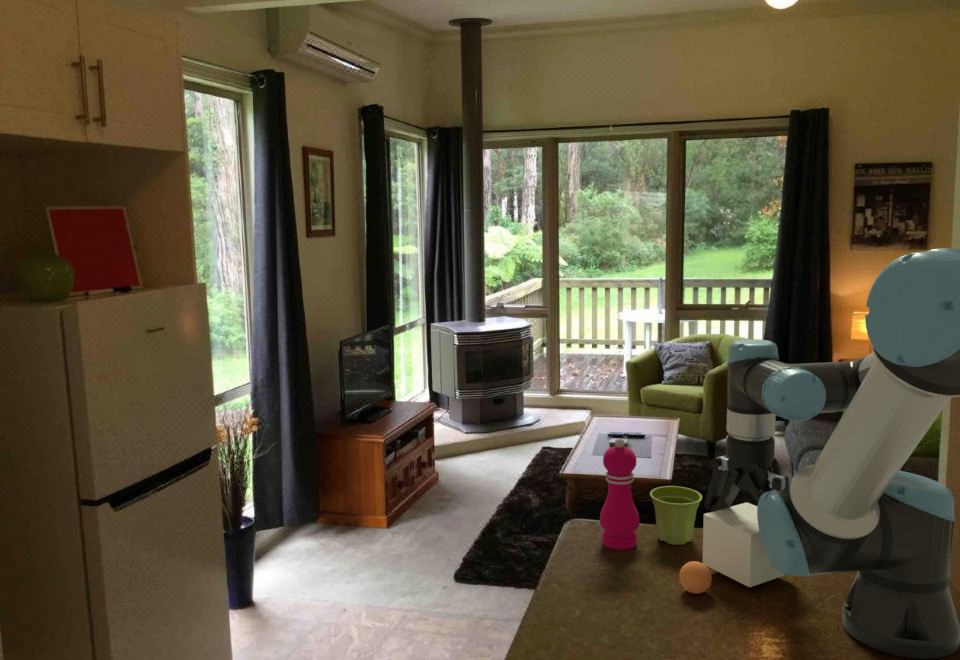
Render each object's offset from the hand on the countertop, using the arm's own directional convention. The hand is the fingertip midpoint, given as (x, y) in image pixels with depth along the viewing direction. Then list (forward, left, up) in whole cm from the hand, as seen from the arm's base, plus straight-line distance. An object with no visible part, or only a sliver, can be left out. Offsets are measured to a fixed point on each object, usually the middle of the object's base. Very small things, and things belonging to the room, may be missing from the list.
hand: (747, 563), depth 136 cm
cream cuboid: (0, 0, -1) cm, 1 cm away
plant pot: (+18, -1, -2) cm, 18 cm away
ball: (+1, +11, 0) cm, 11 cm away
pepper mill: (+22, +9, -2) cm, 24 cm away
